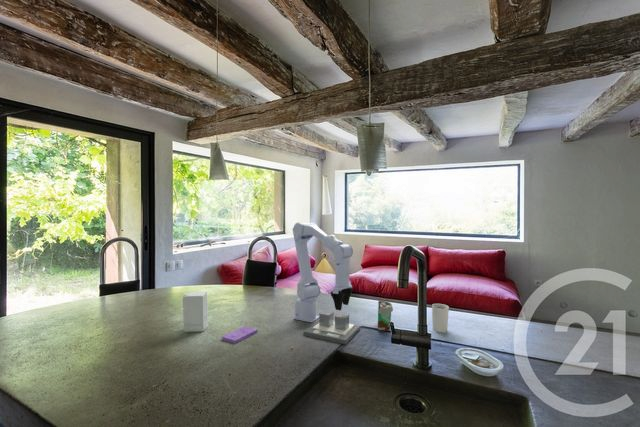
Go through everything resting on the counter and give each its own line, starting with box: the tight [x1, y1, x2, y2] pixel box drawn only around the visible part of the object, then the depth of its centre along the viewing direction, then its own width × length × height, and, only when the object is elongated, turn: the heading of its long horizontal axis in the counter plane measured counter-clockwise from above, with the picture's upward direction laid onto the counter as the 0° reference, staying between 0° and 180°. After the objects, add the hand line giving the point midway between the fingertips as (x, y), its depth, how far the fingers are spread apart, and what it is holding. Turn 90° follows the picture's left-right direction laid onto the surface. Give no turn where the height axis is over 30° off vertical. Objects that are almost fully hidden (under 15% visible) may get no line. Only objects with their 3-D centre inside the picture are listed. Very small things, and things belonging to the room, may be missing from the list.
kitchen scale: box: [303, 320, 361, 345], centre depth 125 cm, size 18×16×2 cm
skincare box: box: [182, 291, 209, 333], centre depth 126 cm, size 8×6×15 cm
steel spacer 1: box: [318, 310, 335, 327], centre depth 128 cm, size 4×4×5 cm
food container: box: [377, 299, 394, 333], centre depth 131 cm, size 12×6×10 cm, turn 168°
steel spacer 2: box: [334, 312, 350, 331], centre depth 125 cm, size 4×4×5 cm
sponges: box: [221, 326, 259, 344], centre depth 121 cm, size 7×13×2 cm, turn 150°
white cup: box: [431, 303, 450, 333], centre depth 129 cm, size 7×7×10 cm
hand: (342, 307), depth 125 cm, fingers open, 7 cm apart
